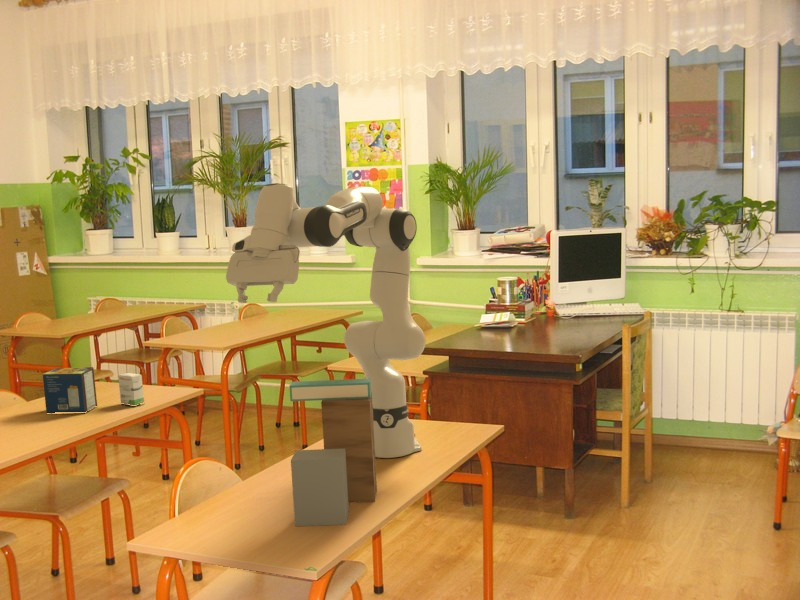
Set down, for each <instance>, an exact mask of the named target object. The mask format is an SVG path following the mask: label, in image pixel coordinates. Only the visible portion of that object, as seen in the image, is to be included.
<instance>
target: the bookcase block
mask: <svg viewBox="0 0 800 600" xmlns="http://www.w3.org/2000/svg"><path fill="white" fill-rule="evenodd" d="M320 404H321V405H320V406H321V420H322V421H321V422H322V437H323V438H322V439H323V449H345V453H346V470H347V488H348V504H349V503H374V502H376V500H377V499H376V498H377V492H378V485H377V483H378V482H377V481H378V480H377V467H376V466H377V461H376V457H375V441H374V422H373V403H372V392H371V397H370V398H365V399H339V400H321V403H320Z"/></svg>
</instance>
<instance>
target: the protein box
mask: <svg viewBox="0 0 800 600" xmlns="http://www.w3.org/2000/svg"><path fill="white" fill-rule="evenodd" d="M42 382H43V392H44V402H45V403H44V404H45V412H46V413H55V412H86V411H88V410H90V409H92V408H94V407H95V406H97V407H98V400H97V392H96V390H97V389H96V381H95V371H94V367H93V366H86V367H56V368H52V369H51V370H49V371H47V372H43V373H42ZM94 409H95V408H94Z"/></svg>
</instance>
